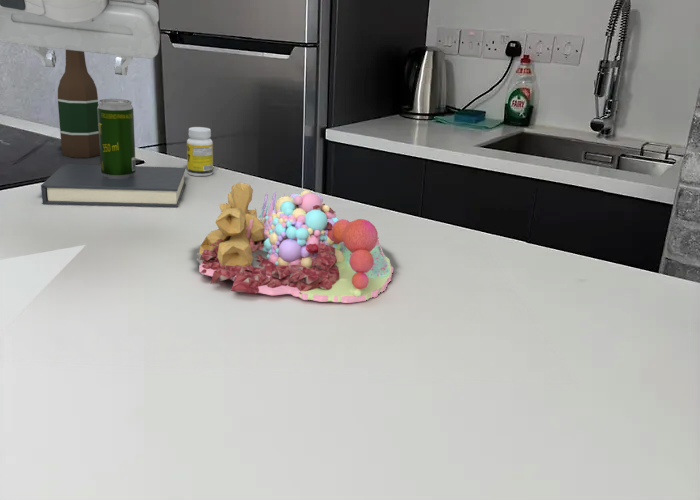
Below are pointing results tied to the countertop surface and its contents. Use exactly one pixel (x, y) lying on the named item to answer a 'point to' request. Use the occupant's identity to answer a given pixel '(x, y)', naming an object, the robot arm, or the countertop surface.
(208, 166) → the supplement bottle
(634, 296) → the countertop surface
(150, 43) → the robot arm
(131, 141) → the beer can
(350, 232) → the candy landscape model
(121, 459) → the countertop surface
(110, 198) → the book
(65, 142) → the beer bottle
